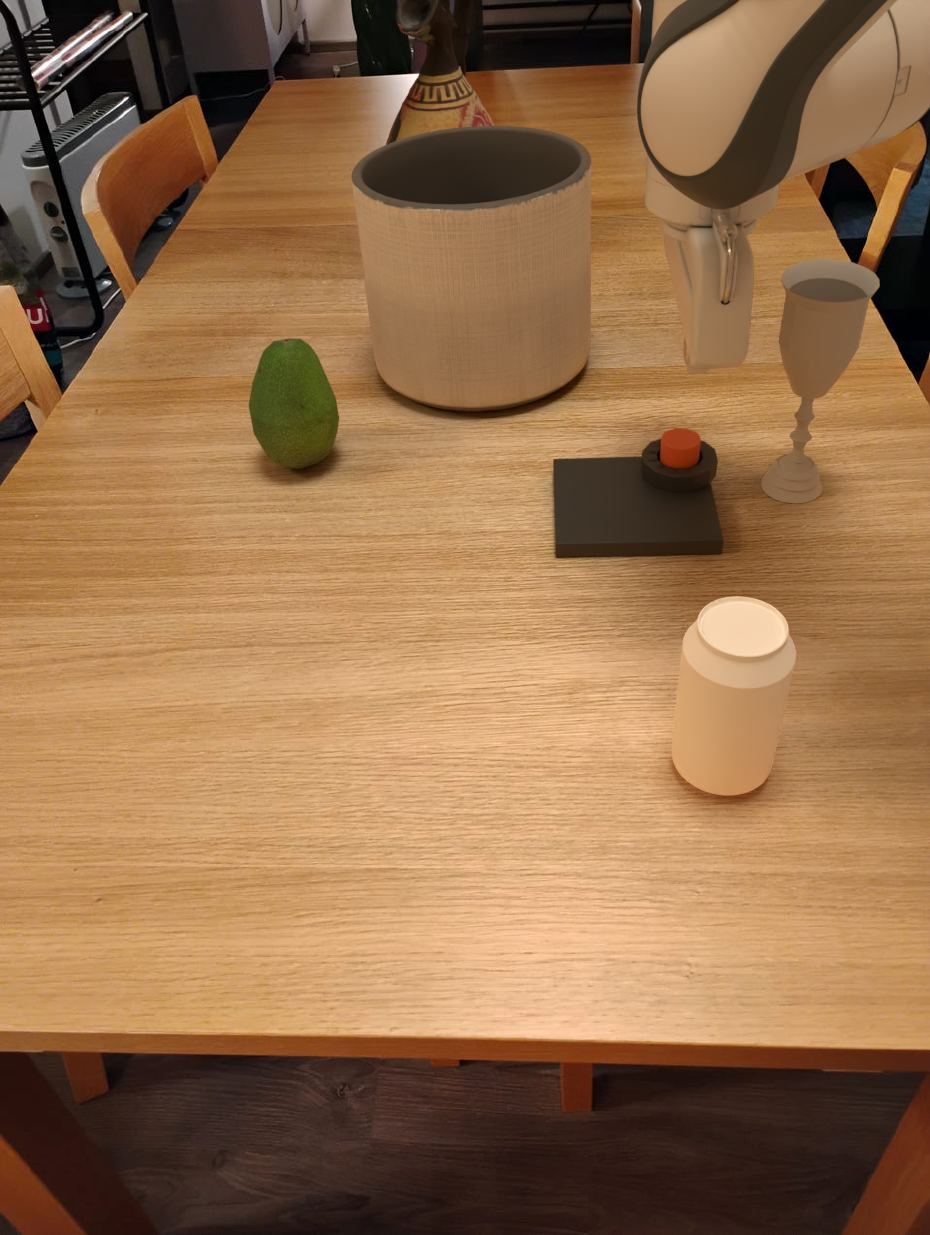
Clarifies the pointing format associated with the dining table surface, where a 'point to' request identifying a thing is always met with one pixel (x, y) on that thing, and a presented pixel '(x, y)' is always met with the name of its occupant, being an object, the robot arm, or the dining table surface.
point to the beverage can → (732, 695)
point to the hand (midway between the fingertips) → (696, 364)
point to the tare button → (680, 448)
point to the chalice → (816, 356)
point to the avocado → (293, 405)
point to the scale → (635, 506)
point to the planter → (477, 264)
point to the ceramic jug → (438, 70)
